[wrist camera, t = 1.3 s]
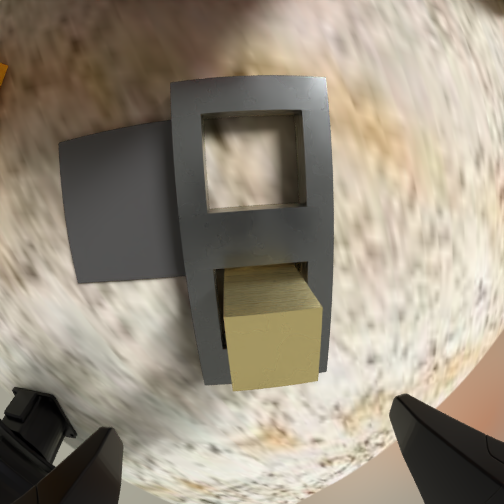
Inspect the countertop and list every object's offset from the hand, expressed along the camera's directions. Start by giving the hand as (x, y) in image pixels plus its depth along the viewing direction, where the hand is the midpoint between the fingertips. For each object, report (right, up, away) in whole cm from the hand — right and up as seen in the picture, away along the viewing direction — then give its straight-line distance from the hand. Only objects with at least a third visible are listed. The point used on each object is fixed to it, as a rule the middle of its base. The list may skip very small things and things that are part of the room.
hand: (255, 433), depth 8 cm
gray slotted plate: (0, +6, +12) cm, 13 cm away
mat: (-8, +8, +10) cm, 16 cm away
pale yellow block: (0, +2, +13) cm, 13 cm away
